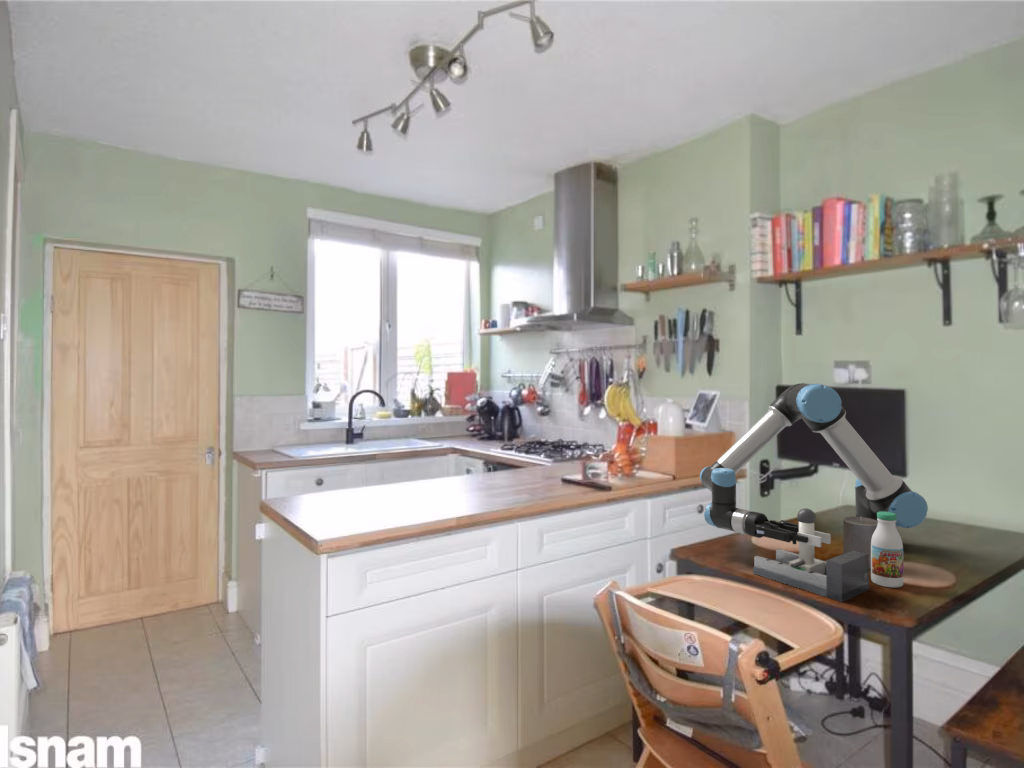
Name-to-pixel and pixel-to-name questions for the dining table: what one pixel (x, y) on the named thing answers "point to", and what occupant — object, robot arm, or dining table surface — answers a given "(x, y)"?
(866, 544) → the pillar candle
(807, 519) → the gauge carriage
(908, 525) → the robot arm
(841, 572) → the base
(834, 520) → the dining table surface
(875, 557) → the milk bottle
